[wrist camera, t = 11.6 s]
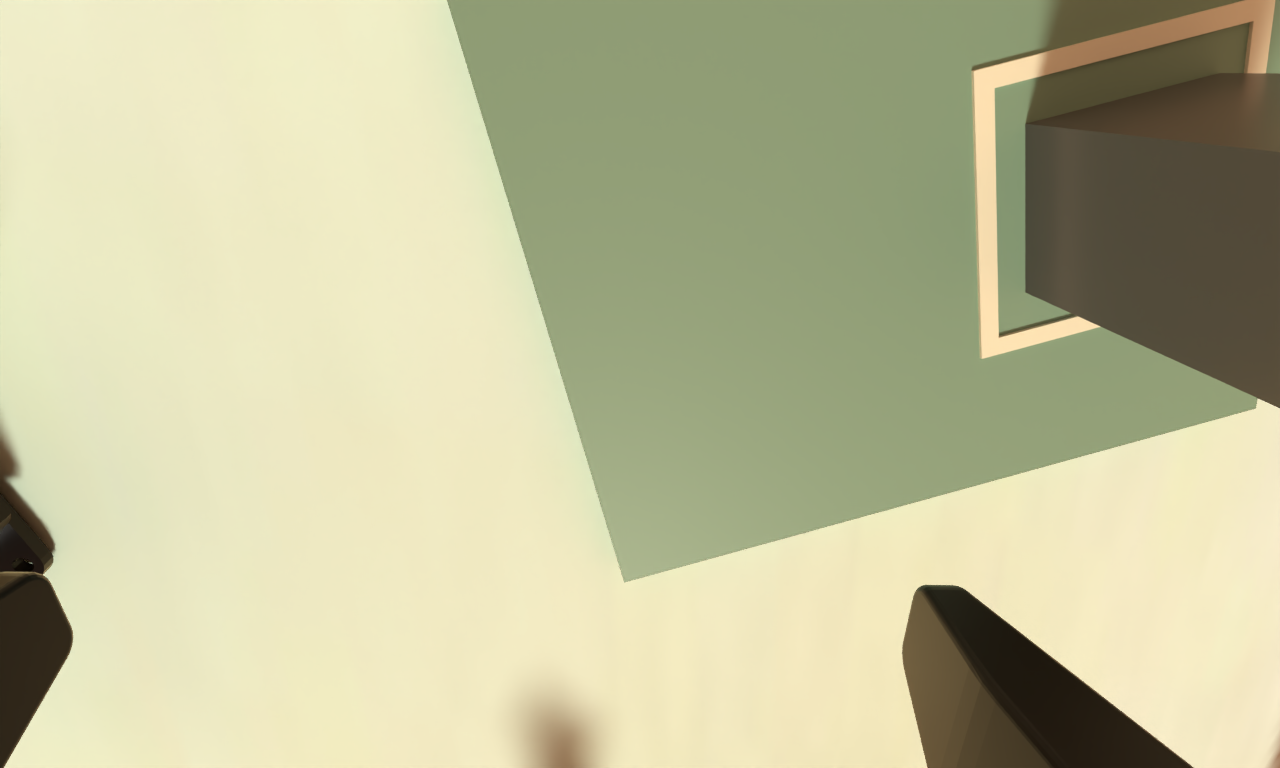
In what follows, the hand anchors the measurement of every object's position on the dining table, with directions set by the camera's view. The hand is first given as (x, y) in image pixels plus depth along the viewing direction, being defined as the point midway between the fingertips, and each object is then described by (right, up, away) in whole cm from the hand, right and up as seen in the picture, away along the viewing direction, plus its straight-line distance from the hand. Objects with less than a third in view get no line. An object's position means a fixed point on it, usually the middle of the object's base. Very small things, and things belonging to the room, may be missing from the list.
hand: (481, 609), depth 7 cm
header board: (+9, +6, +12) cm, 16 cm away
